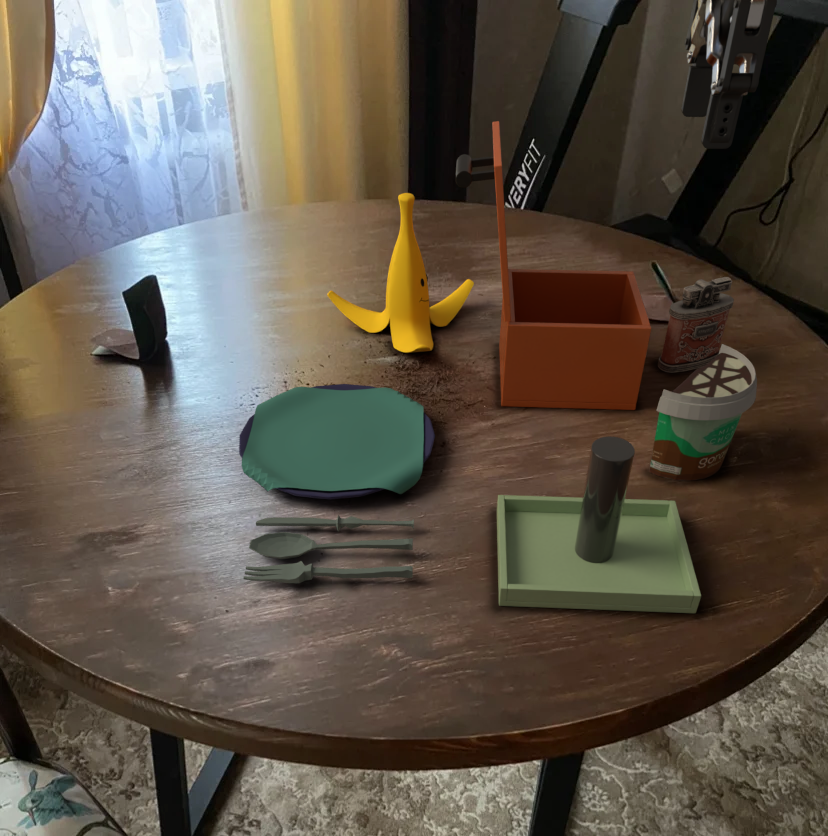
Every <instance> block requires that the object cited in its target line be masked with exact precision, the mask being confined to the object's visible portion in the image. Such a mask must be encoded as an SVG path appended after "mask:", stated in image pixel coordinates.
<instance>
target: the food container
mask: <svg viewBox="0 0 828 836" xmlns="http://www.w3.org/2000/svg"><path fill="white" fill-rule="evenodd" d="M719 350H720V352H719V355H717V356H716V357H715V358H714V359H713V360H711V361H710V362H709V363H708V364H706V365H704V366H702V367H700V368H697V369H694V371H693V372H692V373H691V374H689V376H687V377H686V378H685V379H684V381H682V382H681V383H680V384H679V385H678V386H676V388H674V389H673V390H672V391H670V390H667V389H666V388H665V389H662V390H663V391H662V393H661V396H660V398H659V401H658V404H657V407H656V412H658V417H657V423H656V429H655V435H654V441H653V446H652V451H651V459H650V463H649V469H648V473H649V474H651V475H654V476H657V477H658V478H659V477H660V478H664V479H669V480H674V481H688V482H689V481H690V482H692V481H697V480H704V479H706V478H709V477H711V476H713V475H714V474H716V473H717V472H718V471H720V469H721V467H722V465H723V463H724V460H725V457H726V455H727V452H728V450H729V448H730V445H731V443H732V440H733V437H734V435H735V433H736V430H737V428H738V425H739V423H740V420H741V417H742V415H743V413H745V412H746V411H748V410H749V409H750V408H751V407H752V406H753V405H754V403H755V401H756V399H757V386H758V378H757V374H756V369H755V366H754V365H753V362H751V361H750V360H749V358H747V356H745V355H744V354H743V353H741V352H740V351H738V350H736V349H735V348H733V347H731V346H728V345H726V344H723V343H721V344H720V348H719Z"/></svg>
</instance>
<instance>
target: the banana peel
mask: <svg viewBox="0 0 828 836" xmlns="http://www.w3.org/2000/svg"><path fill="white" fill-rule="evenodd" d="M397 199H398V200H397V201H398V204H399V211H400V225H399V232H398V236H397V239H396V242H395V245H394V247H393V250H392V253H391V254H392V255H391V258H390V263H389V267H388V271H387V280H386V287H385V289H386V290H385V308H384V310H383V311H382V312H381V311H375V310H370V309H368V308H364V307H361V306H358V305H356V304H354V303H353V302H350V301H348V300H347V299H345V298H343V297H342V296H340V295H339V294H338V293H336V292H335V291H333V290H329V291H328V292H327V294H326V296H327V298H328V299H329V300H330V302H331V303H332V304H333V305H334V306H335V307H336V308H337V309H338V310H339V312H340V313H342V314H343V315H344V316H345V317H346V318H347V319H349V321H351V322H352V323H353V324H355V325H356V326H357V327H359V328H360V329H362V330H364V331H365V332H366V333H367V332H368V333H370V334H371V333H373V334H374V333H379V332H382V331H383V330H385V329H386V328H387V327H388V326H389V327H390V335H391V342H392V346H393V348H394V349H395V350H397V351H399V352H401V353H405V354H410V353H422V352H430V351H432V350H433V349H434V341H433V336H432V330H431V324H432V325H434V326H436V327H440V328H441V327H446V326H448V325H449V324H450V322H451V321H452V320H453V319H454V318H455V317H456V315H457V314H458V313H459V312H460V310H461V309H462V307H463V305H465V302H466V301H467V299H468V298H469V295H470V293H471V292H472V289H473V287H474V284H475V282H474V281H473V280H472V279H470V278H468V279H467V278H466V280H465V281H464V282H463V283H462V284H461V285H460V286H459V287H457V289H455V290H454V291H453V292H452V293H450V294H449V295H448V296H446V297H445V298H444V299H442V300H441V301H439V302H437V303H435V304H433V305H431V306H430V293H429V284H428V280H429V278H428V277H429V276H428V274H427V272H426V268H425V264H424V259H423V255H422V253H421V249H420V246H419V243H418V240H417V238H416V234H415V229H414V223H413V222H414V221H413V215H414V204H415V200H416V197H415V196H414V194H413V193H410V192H402V193H400V194H398V197H397Z"/></svg>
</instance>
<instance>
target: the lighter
mask: <svg viewBox="0 0 828 836" xmlns="http://www.w3.org/2000/svg"><path fill="white" fill-rule="evenodd" d="M732 284H733V280H732V279H731V278H730V277H729V276H724V277H723V276H722V277H719V278H715V279H711V280H710V281H707V280H705V279H702V278H701V279H697V280H696V281H695V282H694V284H693V285H688V286H684V287H683V291H682V295H681V296H682V299H681V300H678V301H676V302H674V303H671V304H670V307H669V310H668V314H669V319H668V323H667V329H666V332H665V338H664V342H663V346H662V352H661V355H660V356H659V358H658V363H657V367H658V369H660V370H661V371H663V372H665V373H669V374H670V373H680V372H687V371H692V370H697V369H699V368H700V367H702V366H704V365H706V364H708V363H709V362H710V361H711V360H713V359H714V358H715V357H716V356H717V355H719V352H720V349H721V345H722V340H723V336H724V332H725V329H726V325H727V321H728V318H729V314H730V310H731V309H732V308H733V306H734V302H735V299H734V297H732V296H731V295H729V294H727V293H726V292H728V291H729V292H730V291H731V288H732Z"/></svg>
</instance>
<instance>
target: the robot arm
mask: <svg viewBox="0 0 828 836" xmlns="http://www.w3.org/2000/svg"><path fill="white" fill-rule="evenodd" d="M777 5H778V0H693V2H692V8H691V13H690V18H689V23H688V27H687V32H686V37H685V39H684V50H685V51H687V53H686V59H687V64H689V66H688V71H687V75H686V77H687V78H686V82H685V87H684V92H683V97H682V102H681V107H680V112H681V113H682V115H683V116H684V117H685V118H705V119H704V124H703V127H702V128H703V130H702V133H701V137H700V138H701V140H700V143H701V145H702V146H703V147H704V149H705V150H706V149H707V150H726V149H729V148H730V147H731V146H732V144H733V140H734V137H735V132H736V128H737V123H738V119H739V115H740V110H741V106H742V102H743V98H744V96H747V95H748V93H755V92H756V91H757V88H758V87H759V84H760V77H761V74H762V73H761V71H762V68H763V63H764V58H765V54H766V50H767V47H768V41H769V37H770V32H771V29H772V23H773V20H774V16H775V15H774V14H775V11H776V7H777ZM735 65H736V66H738V68H739V69H738V72H733V70H734V66H735Z"/></svg>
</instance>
